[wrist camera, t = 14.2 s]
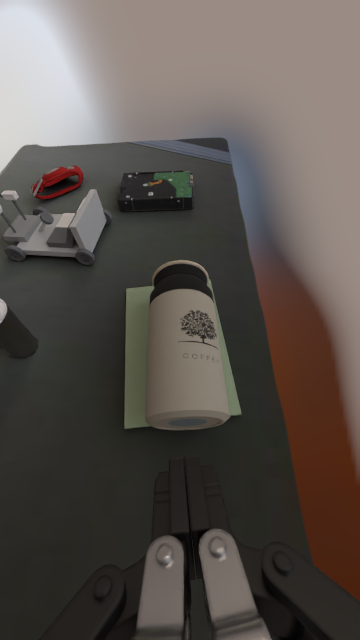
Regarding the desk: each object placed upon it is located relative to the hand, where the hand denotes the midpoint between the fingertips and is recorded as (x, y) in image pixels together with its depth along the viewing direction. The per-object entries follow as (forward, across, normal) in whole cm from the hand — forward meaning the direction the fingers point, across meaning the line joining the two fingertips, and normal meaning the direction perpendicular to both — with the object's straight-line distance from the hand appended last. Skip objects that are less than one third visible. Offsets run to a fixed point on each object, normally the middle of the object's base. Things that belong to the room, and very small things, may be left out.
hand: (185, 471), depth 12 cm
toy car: (+38, +19, -17) cm, 46 cm away
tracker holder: (+51, +22, -30) cm, 63 cm away
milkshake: (+23, +20, -2) cm, 30 cm away
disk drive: (+46, 0, -25) cm, 52 cm away
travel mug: (+10, 0, +5) cm, 11 cm away
